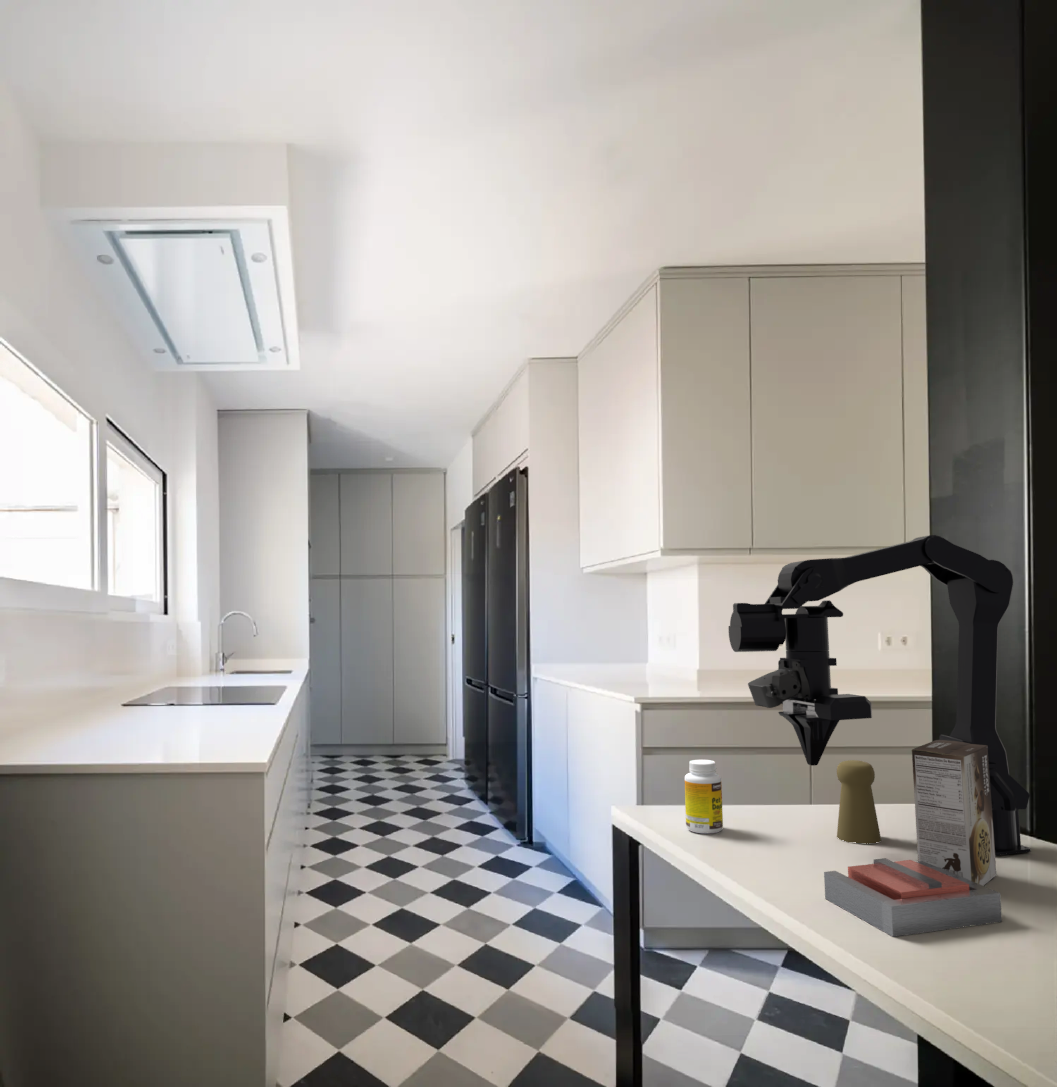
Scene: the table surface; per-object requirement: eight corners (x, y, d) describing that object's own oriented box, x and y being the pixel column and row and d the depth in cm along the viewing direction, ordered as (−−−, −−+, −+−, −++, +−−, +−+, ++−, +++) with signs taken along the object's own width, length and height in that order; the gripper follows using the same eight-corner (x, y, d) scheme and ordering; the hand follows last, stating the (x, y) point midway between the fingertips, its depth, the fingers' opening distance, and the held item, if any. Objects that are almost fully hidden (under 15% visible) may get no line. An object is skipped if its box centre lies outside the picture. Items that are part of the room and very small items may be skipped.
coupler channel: (924, 886, 97) (922, 860, 97) (1001, 921, 86) (1000, 892, 86) (825, 898, 94) (823, 871, 94) (892, 936, 83) (891, 906, 83)
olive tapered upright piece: (885, 844, 114) (881, 765, 115) (840, 843, 116) (836, 764, 116) (876, 833, 120) (872, 757, 121) (833, 831, 121) (829, 757, 122)
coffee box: (943, 865, 105) (935, 738, 106) (998, 876, 101) (990, 743, 102) (916, 882, 99) (909, 747, 100) (974, 895, 94) (965, 753, 95)
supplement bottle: (716, 836, 120) (714, 766, 121) (680, 831, 123) (678, 763, 124) (728, 827, 125) (725, 759, 126) (693, 823, 128) (691, 757, 128)
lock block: (912, 894, 96) (910, 855, 96) (971, 922, 87) (968, 879, 87) (849, 902, 94) (847, 862, 94) (903, 931, 85) (900, 887, 85)
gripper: (721, 649, 120) (725, 757, 118) (796, 655, 102) (802, 783, 100) (787, 647, 123) (792, 752, 121) (871, 653, 105) (878, 776, 103)
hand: (812, 764), depth 112 cm, fingers closed
